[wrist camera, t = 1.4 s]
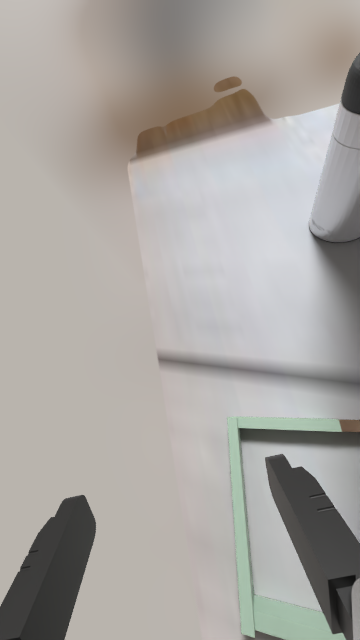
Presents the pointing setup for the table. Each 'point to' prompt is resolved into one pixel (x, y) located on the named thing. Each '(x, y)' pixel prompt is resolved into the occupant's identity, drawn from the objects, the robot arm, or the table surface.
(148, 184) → the table surface
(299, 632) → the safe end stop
